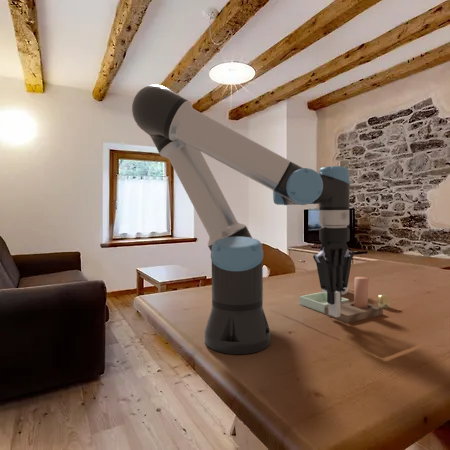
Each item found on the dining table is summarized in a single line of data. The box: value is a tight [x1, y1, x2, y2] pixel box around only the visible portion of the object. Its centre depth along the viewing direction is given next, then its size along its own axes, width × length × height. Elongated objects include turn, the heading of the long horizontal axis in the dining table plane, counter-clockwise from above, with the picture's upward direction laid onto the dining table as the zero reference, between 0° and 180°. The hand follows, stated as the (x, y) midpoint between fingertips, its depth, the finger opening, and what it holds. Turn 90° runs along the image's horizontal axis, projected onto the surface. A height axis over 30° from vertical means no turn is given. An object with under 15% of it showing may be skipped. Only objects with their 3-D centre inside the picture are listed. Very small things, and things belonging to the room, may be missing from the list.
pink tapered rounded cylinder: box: [353, 276, 369, 309], centre depth 91 cm, size 4×4×10 cm
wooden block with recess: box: [324, 300, 384, 324], centre depth 90 cm, size 14×8×3 cm, turn 118°
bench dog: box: [377, 293, 390, 310], centre depth 96 cm, size 3×3×4 cm
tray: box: [298, 291, 350, 315], centre depth 98 cm, size 10×10×3 cm
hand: (334, 315), depth 86 cm, fingers closed
